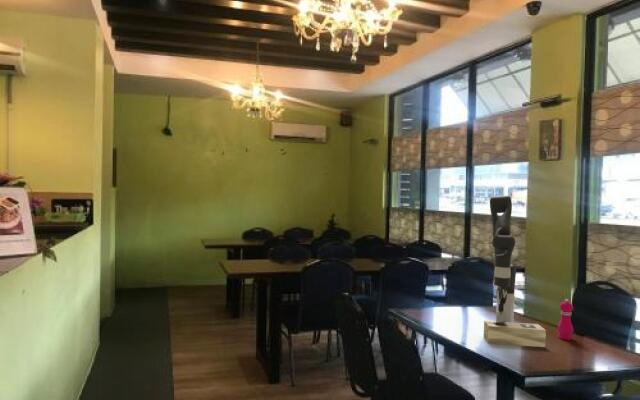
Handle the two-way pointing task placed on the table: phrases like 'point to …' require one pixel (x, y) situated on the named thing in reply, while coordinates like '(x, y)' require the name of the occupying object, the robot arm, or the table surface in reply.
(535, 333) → the collar block
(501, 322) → the peg
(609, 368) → the table surface
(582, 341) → the table surface
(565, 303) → the pepper mill
